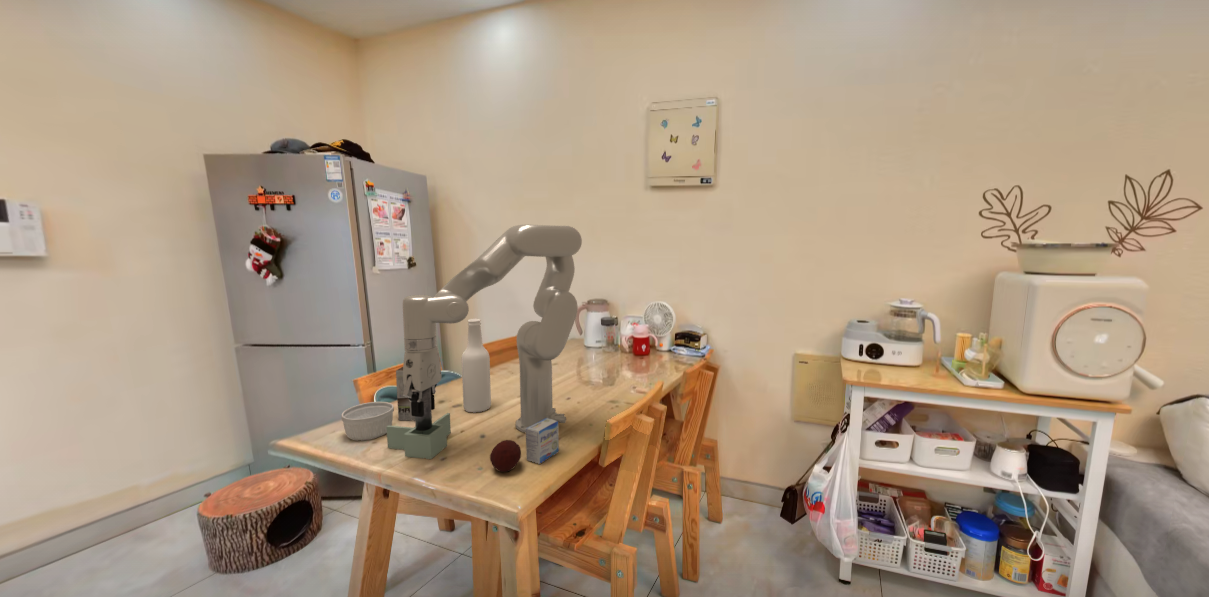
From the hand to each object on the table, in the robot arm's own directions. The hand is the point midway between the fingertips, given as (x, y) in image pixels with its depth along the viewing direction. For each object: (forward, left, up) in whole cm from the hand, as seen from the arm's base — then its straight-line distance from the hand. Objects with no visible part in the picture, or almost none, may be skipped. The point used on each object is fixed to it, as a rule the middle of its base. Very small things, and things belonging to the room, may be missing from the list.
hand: (423, 411), depth 111 cm
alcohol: (+1, -30, -11) cm, 32 cm away
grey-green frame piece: (+4, -4, -11) cm, 12 cm away
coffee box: (+18, -21, -11) cm, 30 cm away
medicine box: (-31, -3, -11) cm, 33 cm away
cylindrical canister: (0, 0, -4) cm, 4 cm away
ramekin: (+23, -7, -11) cm, 26 cm away
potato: (-24, +4, -11) cm, 27 cm away
